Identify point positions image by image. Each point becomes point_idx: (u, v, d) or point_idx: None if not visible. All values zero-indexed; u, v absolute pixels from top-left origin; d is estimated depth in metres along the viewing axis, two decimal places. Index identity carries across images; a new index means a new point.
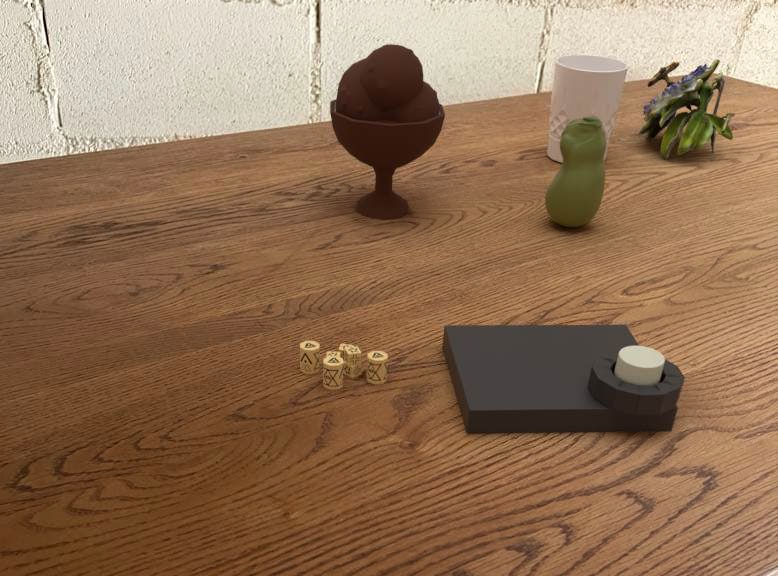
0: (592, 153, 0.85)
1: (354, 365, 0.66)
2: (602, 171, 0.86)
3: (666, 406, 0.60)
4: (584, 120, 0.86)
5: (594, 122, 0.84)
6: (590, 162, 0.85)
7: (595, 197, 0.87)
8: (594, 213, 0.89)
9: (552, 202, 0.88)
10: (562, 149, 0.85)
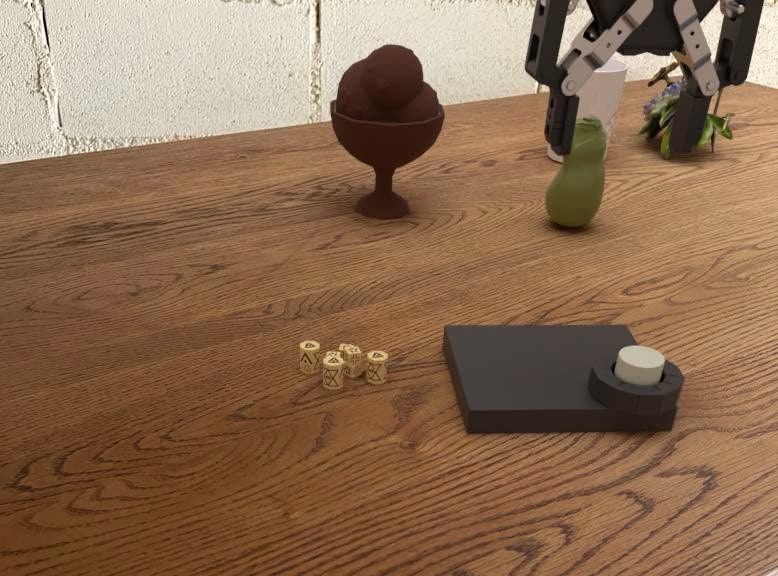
0: (592, 153, 0.85)
1: (354, 365, 0.66)
2: (602, 171, 0.86)
3: (666, 406, 0.60)
4: (584, 120, 0.86)
5: (594, 122, 0.84)
6: (590, 162, 0.85)
7: (595, 197, 0.87)
8: (594, 213, 0.89)
9: (552, 202, 0.88)
10: None
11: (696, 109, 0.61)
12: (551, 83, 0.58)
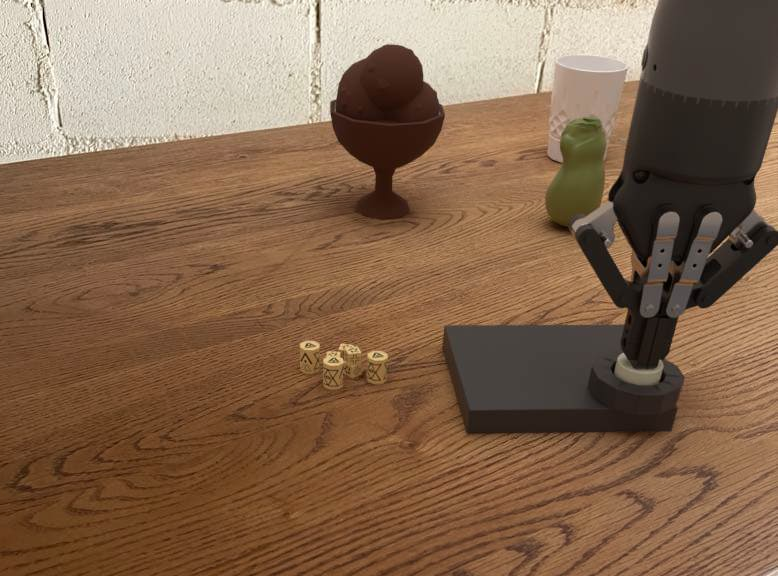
0: (592, 153, 0.85)
1: (354, 365, 0.66)
2: (602, 171, 0.86)
3: (666, 406, 0.60)
4: (584, 120, 0.86)
5: (594, 122, 0.84)
6: (590, 162, 0.85)
7: (595, 197, 0.87)
8: None
9: (552, 202, 0.88)
10: (562, 149, 0.85)
11: (661, 328, 0.58)
12: (629, 305, 0.58)
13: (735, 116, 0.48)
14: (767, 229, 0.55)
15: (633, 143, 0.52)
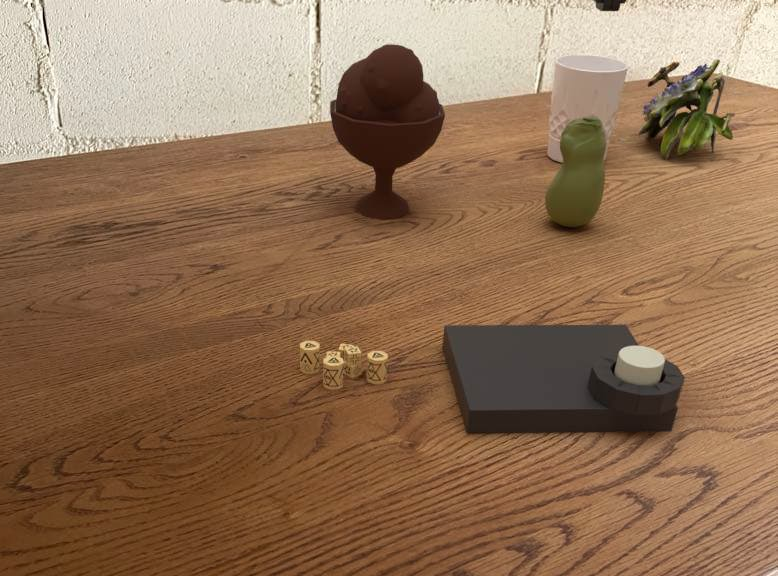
0: (592, 153, 0.85)
1: (354, 365, 0.66)
2: (602, 171, 0.86)
3: (666, 406, 0.60)
4: (584, 120, 0.86)
5: (594, 122, 0.84)
6: (590, 162, 0.85)
7: (595, 197, 0.87)
8: (594, 213, 0.89)
9: (552, 202, 0.88)
10: (562, 149, 0.85)
11: None
12: None
13: None
14: None
15: None
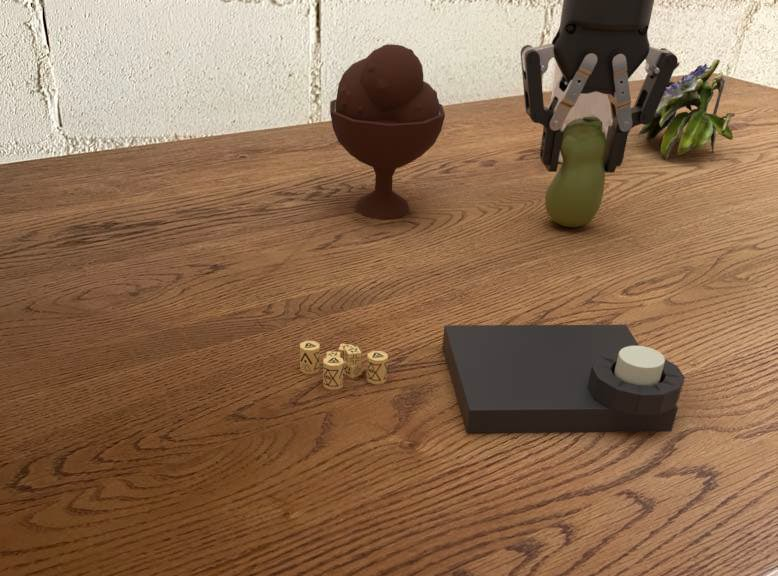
0: (591, 153, 0.85)
1: (354, 365, 0.66)
2: (602, 171, 0.86)
3: (666, 406, 0.60)
4: (584, 120, 0.86)
5: (594, 122, 0.84)
6: (590, 162, 0.85)
7: (595, 197, 0.87)
8: (594, 213, 0.89)
9: (552, 202, 0.88)
10: (562, 149, 0.85)
11: (616, 140, 0.85)
12: (542, 121, 0.84)
13: None
14: (665, 56, 0.81)
15: (565, 6, 0.78)
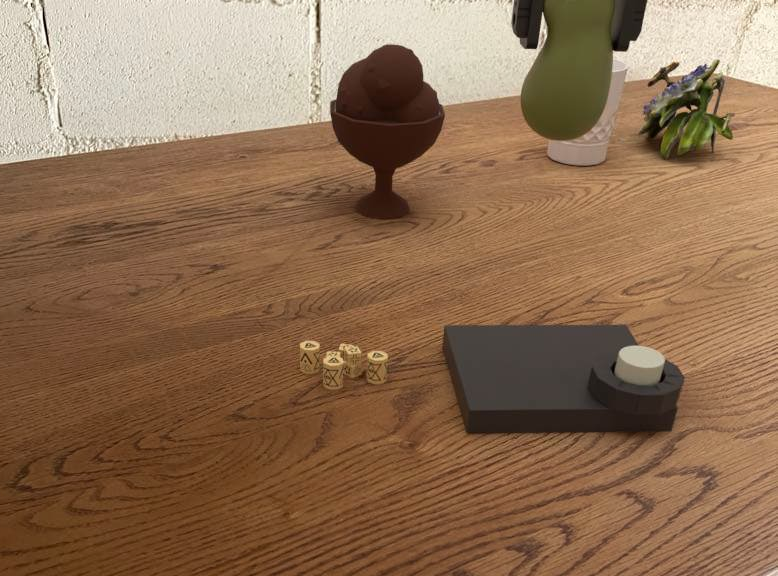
0: (592, 15, 0.53)
1: (354, 365, 0.66)
2: (609, 47, 0.55)
3: (666, 406, 0.60)
4: None
5: None
6: (590, 31, 0.54)
7: (598, 89, 0.56)
8: (596, 117, 0.57)
9: (531, 99, 0.57)
10: (546, 10, 0.54)
11: None
12: None
13: None
14: None
15: None
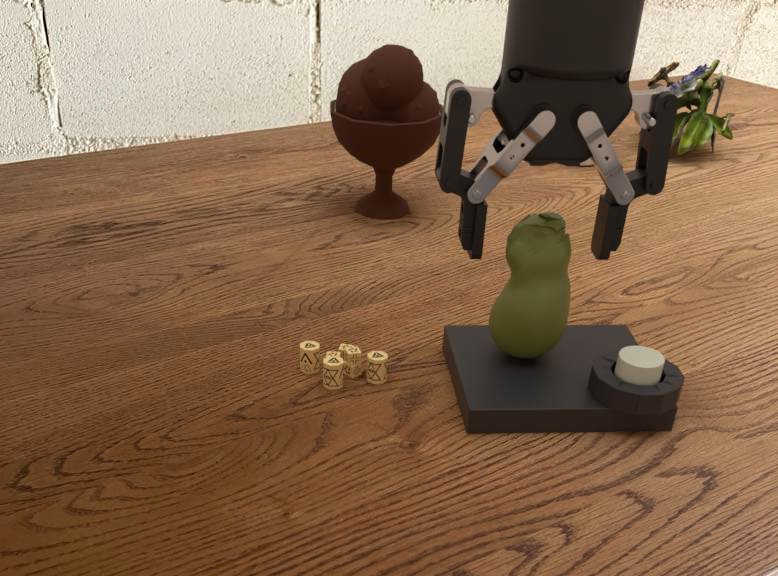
0: (550, 266, 0.60)
1: (354, 365, 0.66)
2: (566, 287, 0.62)
3: (666, 406, 0.60)
4: (540, 217, 0.61)
5: (553, 222, 0.59)
6: (549, 278, 0.60)
7: (557, 322, 0.62)
8: (556, 342, 0.64)
9: (497, 327, 0.63)
10: (509, 259, 0.60)
11: (612, 217, 0.59)
12: (458, 191, 0.58)
13: (595, 8, 0.49)
14: (659, 98, 0.55)
15: (507, 41, 0.53)
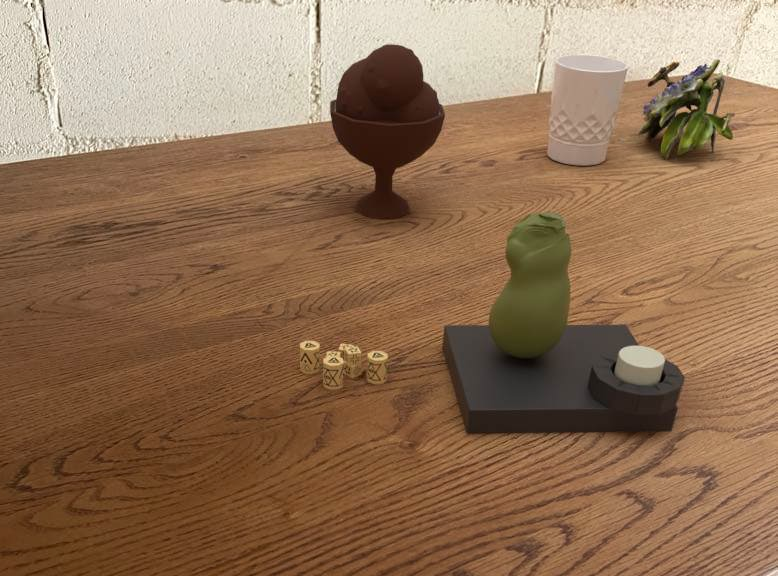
0: (550, 266, 0.60)
1: (354, 365, 0.66)
2: (566, 287, 0.62)
3: (666, 406, 0.60)
4: (540, 217, 0.61)
5: (553, 222, 0.59)
6: (549, 278, 0.60)
7: (557, 322, 0.62)
8: (556, 342, 0.64)
9: (497, 327, 0.63)
10: (509, 259, 0.60)
11: None
12: None
13: None
14: None
15: None
